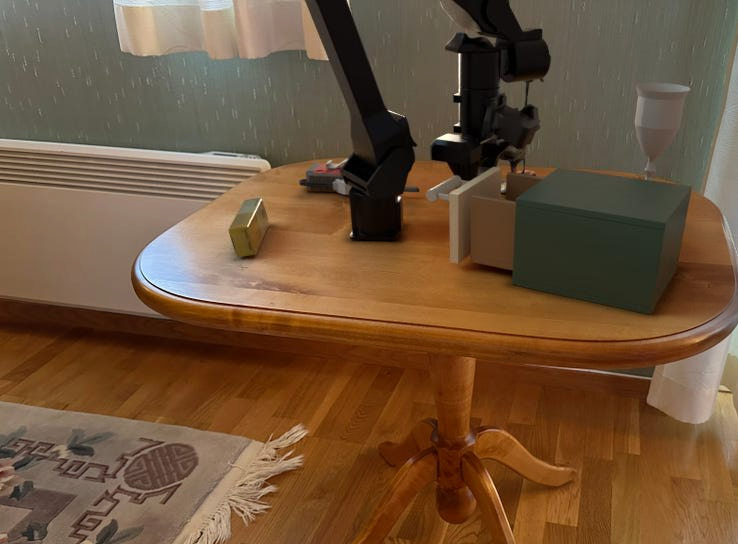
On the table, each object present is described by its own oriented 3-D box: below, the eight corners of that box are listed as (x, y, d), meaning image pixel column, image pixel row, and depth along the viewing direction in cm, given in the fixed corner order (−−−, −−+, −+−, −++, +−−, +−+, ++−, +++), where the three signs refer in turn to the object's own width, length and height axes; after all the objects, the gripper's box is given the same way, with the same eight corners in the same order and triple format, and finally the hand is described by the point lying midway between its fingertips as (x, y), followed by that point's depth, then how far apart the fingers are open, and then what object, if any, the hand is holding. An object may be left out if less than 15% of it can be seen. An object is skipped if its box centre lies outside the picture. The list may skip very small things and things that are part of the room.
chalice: (614, 218, 100) (631, 89, 90) (623, 204, 105) (639, 81, 96) (665, 225, 98) (687, 94, 88) (671, 210, 103) (693, 85, 93)
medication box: (251, 226, 97) (243, 199, 95) (269, 224, 97) (262, 196, 95) (235, 258, 87) (227, 228, 84) (257, 255, 87) (248, 225, 85)
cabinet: (511, 284, 81) (515, 198, 75) (552, 245, 91) (558, 167, 85) (650, 315, 74) (665, 222, 69) (676, 269, 85) (692, 186, 79)
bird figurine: (481, 180, 116) (483, 53, 105) (547, 181, 115) (556, 53, 105) (479, 195, 109) (481, 60, 98) (550, 196, 108) (559, 61, 98)
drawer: (416, 255, 86) (414, 187, 81) (461, 224, 95) (461, 161, 90) (568, 287, 78) (575, 214, 73) (600, 250, 87) (608, 183, 83)
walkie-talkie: (295, 195, 108) (418, 200, 106) (291, 168, 106) (417, 172, 104) (311, 179, 116) (427, 183, 114) (308, 153, 113) (426, 157, 112)
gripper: (505, 104, 83) (500, 224, 92) (557, 80, 98) (550, 186, 106) (426, 95, 88) (429, 211, 96) (488, 74, 102) (485, 177, 110)
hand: (477, 196), depth 102 cm, fingers closed on block, 5 cm apart
